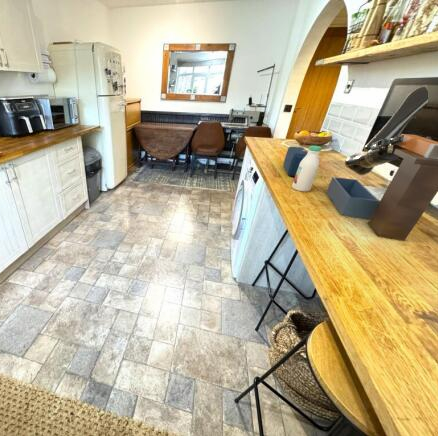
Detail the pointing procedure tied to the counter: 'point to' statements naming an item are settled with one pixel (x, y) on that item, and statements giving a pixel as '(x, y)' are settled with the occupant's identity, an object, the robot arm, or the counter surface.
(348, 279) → the counter surface
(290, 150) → the radio
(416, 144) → the orange brown bar
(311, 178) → the milk bottle
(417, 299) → the counter surface
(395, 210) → the shelf stand
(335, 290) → the counter surface
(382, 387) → the counter surface
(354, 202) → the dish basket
